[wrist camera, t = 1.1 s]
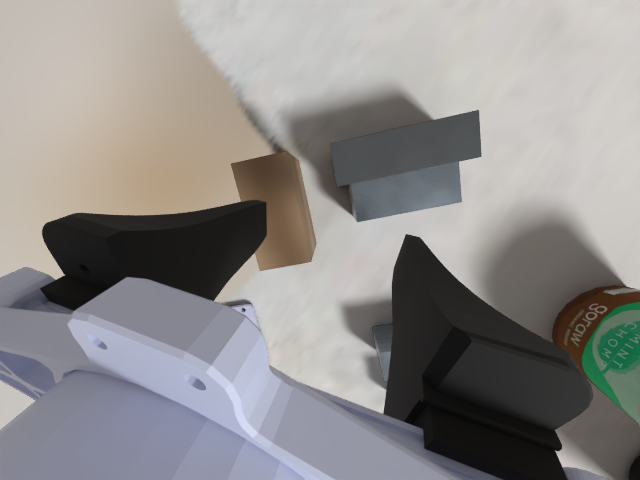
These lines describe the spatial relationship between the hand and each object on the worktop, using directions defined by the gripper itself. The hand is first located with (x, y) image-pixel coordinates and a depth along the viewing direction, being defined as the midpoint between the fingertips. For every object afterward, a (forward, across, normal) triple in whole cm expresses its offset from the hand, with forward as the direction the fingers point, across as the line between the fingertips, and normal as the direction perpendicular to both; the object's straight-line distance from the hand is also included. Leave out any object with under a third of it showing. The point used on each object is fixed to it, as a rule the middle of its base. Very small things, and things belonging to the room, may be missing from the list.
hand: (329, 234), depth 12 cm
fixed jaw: (+12, -3, 0) cm, 13 cm away
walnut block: (+9, +6, +4) cm, 12 cm away
